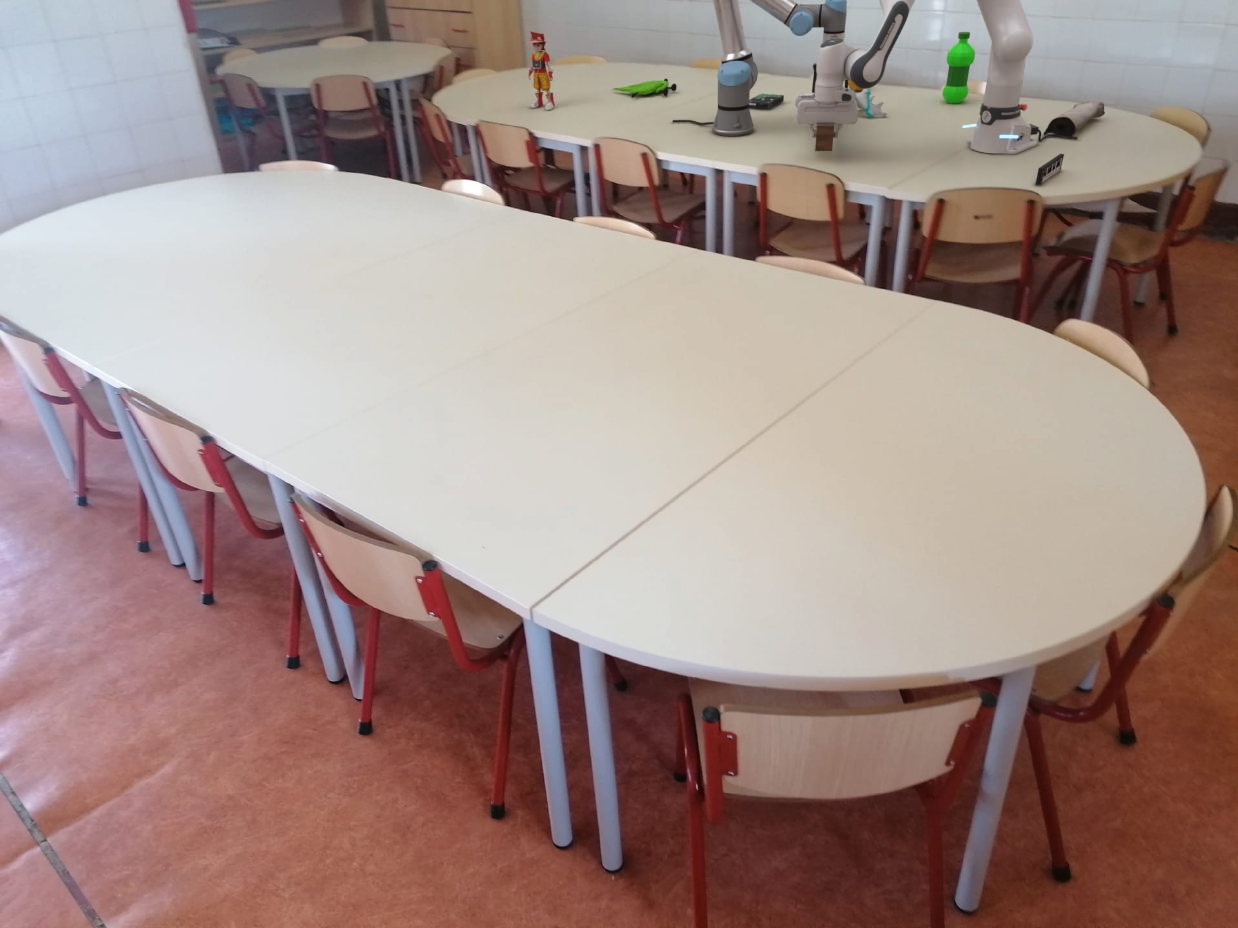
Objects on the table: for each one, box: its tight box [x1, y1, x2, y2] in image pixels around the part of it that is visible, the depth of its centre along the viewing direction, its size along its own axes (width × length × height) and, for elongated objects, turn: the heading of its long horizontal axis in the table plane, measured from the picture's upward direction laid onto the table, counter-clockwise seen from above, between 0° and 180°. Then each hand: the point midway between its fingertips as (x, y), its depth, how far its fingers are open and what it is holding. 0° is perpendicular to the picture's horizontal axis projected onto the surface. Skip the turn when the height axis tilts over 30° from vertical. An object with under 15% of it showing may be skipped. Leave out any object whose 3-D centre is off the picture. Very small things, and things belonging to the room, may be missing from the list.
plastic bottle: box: [942, 31, 976, 104], centre depth 348 cm, size 10×10×25 cm
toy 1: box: [527, 31, 556, 111], centre depth 374 cm, size 12×9×30 cm
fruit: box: [848, 80, 863, 92], centre depth 377 cm, size 8×8×8 cm
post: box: [814, 123, 836, 152], centre depth 317 cm, size 54×6×8 cm, turn 167°
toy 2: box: [612, 78, 677, 99], centre depth 396 cm, size 28×5×30 cm
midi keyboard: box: [1035, 153, 1065, 186], centre depth 273 cm, size 18×1×5 cm, turn 138°
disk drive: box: [749, 93, 785, 110], centre depth 365 cm, size 10×3×15 cm
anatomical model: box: [855, 88, 888, 119], centre depth 345 cm, size 15×10×10 cm
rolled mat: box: [1043, 100, 1106, 137], centre depth 316 cm, size 30×9×10 cm
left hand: (828, 112), depth 336 cm, fingers closed on post, 6 cm apart
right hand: (825, 137), depth 300 cm, fingers closed on post, 5 cm apart
